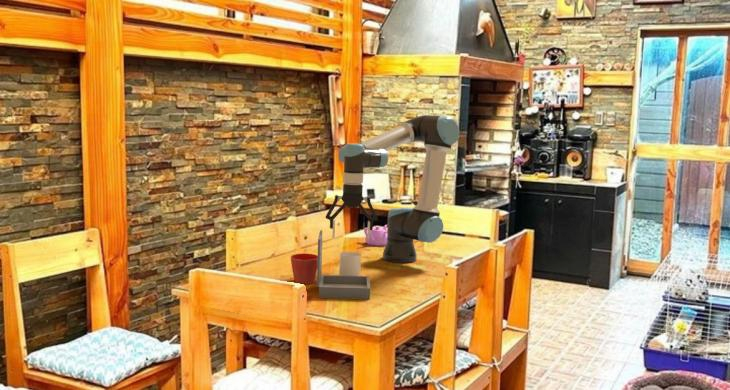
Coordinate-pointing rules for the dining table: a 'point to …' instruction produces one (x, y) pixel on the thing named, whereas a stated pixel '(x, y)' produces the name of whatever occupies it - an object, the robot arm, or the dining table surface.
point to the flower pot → (304, 267)
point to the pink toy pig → (376, 236)
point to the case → (340, 282)
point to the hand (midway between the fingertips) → (350, 237)
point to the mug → (350, 263)
